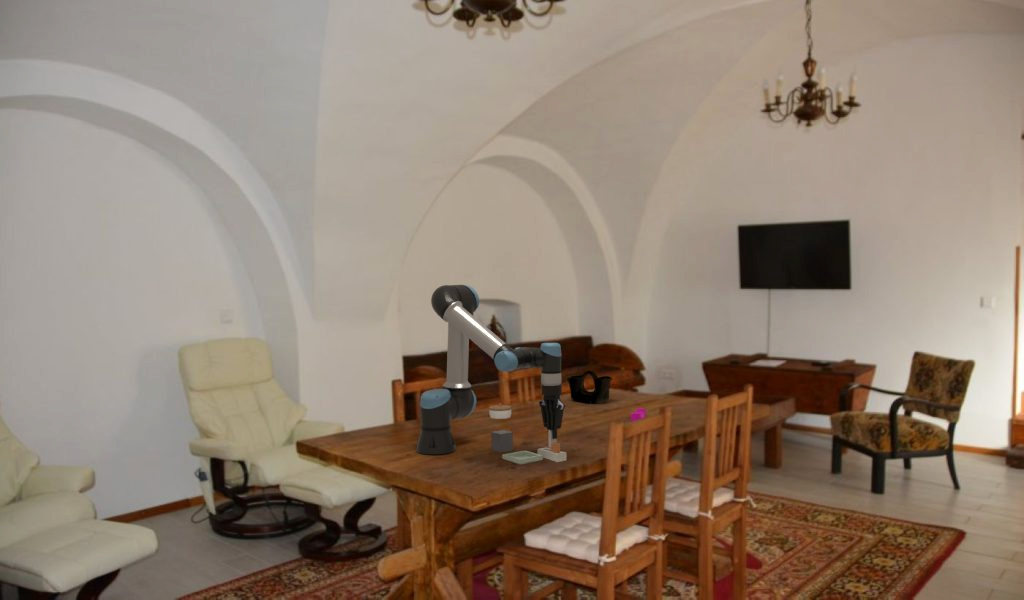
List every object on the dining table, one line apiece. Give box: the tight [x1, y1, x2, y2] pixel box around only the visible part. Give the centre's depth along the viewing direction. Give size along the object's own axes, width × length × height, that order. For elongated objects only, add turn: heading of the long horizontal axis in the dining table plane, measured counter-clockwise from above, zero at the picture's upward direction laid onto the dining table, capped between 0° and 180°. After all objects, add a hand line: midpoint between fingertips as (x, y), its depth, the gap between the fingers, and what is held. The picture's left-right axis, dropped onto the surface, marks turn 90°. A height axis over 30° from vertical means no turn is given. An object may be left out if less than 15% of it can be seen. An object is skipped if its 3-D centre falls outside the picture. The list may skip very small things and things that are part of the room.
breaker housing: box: [536, 447, 567, 463], centre depth 293 cm, size 4×12×3 cm, turn 36°
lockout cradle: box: [501, 450, 544, 466], centre depth 291 cm, size 11×11×2 cm
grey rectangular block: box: [490, 429, 514, 454], centre depth 305 cm, size 6×6×8 cm
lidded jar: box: [488, 402, 512, 420], centre depth 369 cm, size 11×11×9 cm
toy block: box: [630, 407, 646, 422], centre depth 353 cm, size 15×6×8 cm, turn 160°
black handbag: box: [566, 370, 613, 405], centre depth 405 cm, size 25×11×20 cm, turn 59°
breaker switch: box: [551, 442, 561, 453], centre depth 291 cm, size 2×2×3 cm
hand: (552, 446), depth 292 cm, fingers closed
